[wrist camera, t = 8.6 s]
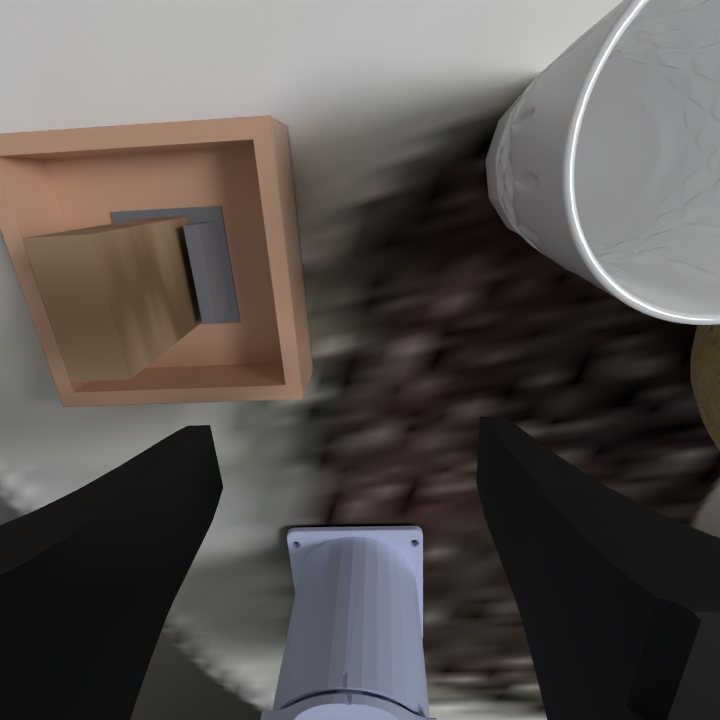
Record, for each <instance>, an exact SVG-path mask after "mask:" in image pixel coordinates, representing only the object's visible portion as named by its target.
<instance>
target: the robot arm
mask: <svg viewBox="0 0 720 720" xmlns="http://www.w3.org/2000/svg"><path fill="white" fill-rule="evenodd" d="M477 487H478V491H479V496H480V500H481V504H482V508H483V512H484V516H485V519H486V522H487V525H488V527H489V530H490V533H491V536H492V538H493V541H494V544H495V546H496V549H497V552H498V554H499V557H500V560H501V562H502V565H503V567H504V570H505V573H506V575H507V578H508V581H509V583H510V586H511V589H512V591H513V594H514V597H515V600H516V603H517V606H518V609H519V612H520V615H521V619H522V622H523V626H524V630H525V633H526V637H527V641H528V645H529V648H530V652H531V656H532V660H533V664H534V667H535V671H536V675H537V679H538V683H539V687H540V691H541V695H542V699H543V703H544V707H545V711H546V715H547V720H720V538H718V537H715V536H712V535H710V534H707V533H705V532H702V531H700V530H697V529H695V528H692V527H690V526H687V525H685V524H683V523H681V522H678V521H676V520H674V519H672V518H669V517H667V516H665V515H663V514H660V513H658V512H656V511H654V510H651V509H649V508H647V507H645V506H643V505H641V504H639V503H637V502H635V501H633V500H631V499H629V498H627V497H625V496H624V495H622V494H620V493H618V492H616V491H614V490H612V489H610V488H609V487H607V486H605V485H603V484H602V483H600V482H598V481H596V480H595V479H593V478H591V477H590V476H588V475H587V474H585V473H583V472H582V471H580V470H579V469H577V468H575V467H574V466H572V465H571V464H569V463H568V462H566V461H565V460H563V459H562V458H560V457H559V456H557V455H556V454H555V453H553V452H552V451H550V450H549V449H548V448H546V447H545V446H543V445H542V444H541V443H539V442H538V441H537V440H535V439H534V438H533V437H531V436H530V435H529V434H527V433H526V432H525V431H523V430H522V429H521V428H519V427H518V426H517V425H515V424H514V423H513V422H511V421H510V420H508V419H507V418H505V417H480V428H479V446H478V464H477ZM222 489H223V484H222V479H221V475H220V470H219V465H218V461H217V456H216V451H215V446H214V442H213V437H212V432H211V428H210V425H200V426H187V427H185V428H183V429H180V430H179V431H177V432H175V433H173V434H171V435H170V436H168V437H166V438H165V439H163V440H161V441H160V442H158V443H157V444H155V445H153V446H152V447H150V448H148V449H147V450H145V451H144V452H142V453H140V454H139V455H137V456H135V457H134V458H132V459H130V460H129V461H127V462H126V463H124V464H122V465H121V466H119V467H117V468H115V469H114V470H112V471H110V472H108V473H107V474H105V475H103V476H101V477H100V478H98V479H96V480H94V481H92V482H91V483H89V484H87V485H85V486H84V487H82V488H80V489H78V490H76V491H74V492H72V493H70V494H68V495H66V496H64V497H62V498H60V499H58V500H56V501H54V502H52V503H50V504H48V505H46V506H44V507H42V508H40V509H37V510H35V511H33V512H31V513H29V514H26V515H24V516H22V517H19V518H17V519H15V520H12V521H9V522H7V523H5V524H2V525H0V720H130V718H131V715H132V712H133V709H134V706H135V703H136V700H137V697H138V694H139V691H140V689H141V686H142V683H143V680H144V677H145V674H146V671H147V668H148V665H149V662H150V660H151V657H152V654H153V651H154V649H155V646H156V643H157V640H158V638H159V635H160V633H161V630H162V627H163V625H164V622H165V619H166V617H167V615H168V612H169V610H170V608H171V605H172V603H173V601H174V599H175V597H176V595H177V593H178V590H179V588H180V586H181V584H182V582H183V580H184V578H185V576H186V574H187V572H188V570H189V568H190V566H191V564H192V562H193V560H194V558H195V556H196V554H197V552H198V550H199V548H200V546H201V544H202V542H203V540H204V537H205V535H206V533H207V531H208V529H209V527H210V525H211V523H212V520H213V517H214V515H215V512H216V509H217V506H218V503H219V499H220V496H221V493H222ZM412 540H417V541H415V542H412ZM294 542H298V543H294ZM287 543H288V550H289V556H290V563H291V570H292V576H293V583H294V589H295V599H294V604H293V609H292V614H291V619H290V624H289V629H288V634H287V639H286V644H285V649H284V654H283V659H282V664H281V669H280V674H279V679H278V684H277V689H276V694H275V699H274V705H273V710H270V711H263V712H262V716H261V720H437V719H435V718H430V714H429V703H428V693H427V683H426V673H425V663H424V653H423V643H422V638H423V533H422V530H421V528H420V527H418V526H366V527H304V528H291V529H290V530H289V531H288V533H287Z"/></svg>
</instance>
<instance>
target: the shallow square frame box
mask: <svg viewBox="0 0 720 720" xmlns="http://www.w3.org/2000/svg"><path fill="white" fill-rule="evenodd" d="M187 216H189V218H190V223H191V224H189V225H185V226H183V228H184V233H185V238H186V243H187V248H188V253H189V258H190V263H191V268H192V273H193V278H194V283H195V288H196V293H197V299H198V304H199V309H200V314H201V319H202V323H200V324H199V325H198V326H197V327H195V328H194V329H193V330H192V331H190V332H189V333H188V334H187V335H185V336H184V337H183V338H182V339H180V340H179V341H178V342H177V343H175V344H174V345H173V346H172V347H170V348H169V349H168V350H167V351H165V352H164V353H163V354H162V355H160V356H159V357H158V358H157V359H155V360H154V361H153V362H152V363H150V364H149V365H148V366H147V367H145V368H144V369H143V370H142V371H140V372H139V373H138V374H137V375H135V376H134V377H133V378H132V379H130V380H104V381H75V382H70V379H69V376H68V373H67V370H66V367H65V364H64V361H63V358H62V355H61V352H60V349H59V346H58V343H57V340H56V338H55V335H54V332H53V329H52V326H51V323H50V320H49V317H48V314H47V311H46V308H45V305H44V302H43V299H42V296H41V293H40V290H39V287H38V284H37V281H36V278H35V275H34V272H33V269H32V266H31V263H30V260H29V257H28V254H27V251H26V248H25V245H24V242H23V239H22V238H26V237H32V236H39V235H45V234H51V233H58V232H64V231H70V230H77V229H83V228H89V227H96V226H102V225H108V224H115V223H121V222H128V221H134V220H140V219H151V218H169V217H187ZM0 228H1V231H2V234H3V237H4V239H5V242H6V245H7V248H8V251H9V254H10V257H11V259H12V262H13V265H14V268H15V271H16V274H17V276H18V279H19V282H20V285H21V288H22V291H23V294H24V296H25V299H26V302H27V305H28V308H29V311H30V313H31V316H32V319H33V322H34V325H35V328H36V331H37V333H38V336H39V339H40V342H41V345H42V348H43V350H44V353H45V356H46V359H47V362H48V365H49V368H50V370H51V373H52V376H53V379H54V382H55V385H56V387H57V390H58V393H59V396H60V399H61V402H62V405H63V407H72V406H103V405H134V404H166V403H197V402H228V401H259V400H290V399H303V398H304V395H305V392H306V389H307V386H308V383H309V380H310V378H311V375H312V372H313V365H312V355H311V346H310V336H309V326H308V317H307V307H306V297H305V288H304V278H303V268H302V259H301V249H300V239H299V230H298V220H297V211H296V201H295V191H294V182H293V172H292V162H291V153H290V143H289V133H288V126H286V125H285V124H283V123H282V122H280V121H278V120H277V119H275V118H274V117H272V116H270V115H269V116H254V117H239V118H225V119H210V120H195V121H181V122H166V123H151V124H137V125H122V126H107V127H92V128H78V129H63V130H48V131H34V132H19V133H4V134H0Z"/></svg>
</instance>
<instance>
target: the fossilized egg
mask: <svg viewBox="0 0 720 720" xmlns="http://www.w3.org/2000/svg"><path fill="white" fill-rule="evenodd" d="M691 384H692V388H693V392H694V396H695V399H696V403H697V406H698V409H699V412H700V415H701V418H702V420H703V423H704V425H705V427H706V429H707V431H708V433H709V434H710V436H711V438H712V439H713V441H714V443H715V444H716V446H717V447H718V449H719V450H720V324H717V325H697V329H696V333H695V337H694V342H693V347H692V352H691Z"/></svg>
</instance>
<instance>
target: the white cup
mask: <svg viewBox="0 0 720 720" xmlns="http://www.w3.org/2000/svg"><path fill="white" fill-rule="evenodd" d="M485 162H486V174H487V186H488V197H489V200H490V201H491V203H492V205H493V206H494V208H495V209H496V211H497V213H498V214H499V216H500V218H501V219H502V221H503V223H504V224H505V226H506V227H507V228H508V229H510V230H511V231H513V232H515V233H517V234H518V235H520V236H521V237H522V238H523V239H524V240H525V241H526V242H527V243H529V244H530V245H531V246H532V247H533V248H535V249H537V250H538V251H539V252H541V253H542V254H544V255H545V256H547V257H548V258H550V259H552V260H553V261H554V262H556V263H557V264H559V265H560V266H562V267H563V268H565V269H567V270H569V271H571V272H573V273H574V274H576V275H578V276H580V277H581V278H583V279H585V280H586V281H588V282H590V283H591V284H593V285H594V286H596V287H598V288H599V289H601V290H603V291H605V292H606V293H608V294H610V295H611V296H613V297H615V298H616V299H618V300H620V301H621V302H623V303H625V304H626V305H628V306H630V307H632V308H633V309H635V310H637V311H640V312H642V313H644V314H647V315H649V316H652V317H655V318H658V319H662V320H666V321H670V322H675V323H682V324H693V325H717V324H720V0H623V1H622V2H621V3H620V4H619V5H617V6H616V7H615V8H614V9H613V10H611V11H610V12H609V13H608V14H607V15H605V16H604V17H603V18H602V19H601V20H600V21H598V22H597V23H596V24H595V25H594V26H592V27H591V28H590V29H589V30H588V31H586V32H585V33H584V34H583V35H582V36H580V37H579V38H578V39H577V40H576V41H575V42H574V43H572V44H571V45H570V46H569V47H568V48H567V49H566V50H565V51H564V52H563V53H562V54H561V55H560V56H559V57H558V58H557V59H555V60H554V61H553V62H552V63H551V64H550V65H549V66H548V67H547V68H546V69H545V70H543V71H542V72H541V73H540V74H539V75H538V76H537V77H536V78H535V79H534V80H533V81H532V83H531V84H530V85H528V86H527V87H526V89H525V90H524V91H523V92H522V93H521V94H520V96H519V97H518V98H517V99H516V100H515V102H514V103H513V104H512V105H511V106H510V107H509V109H508V110H507V111H506V112H505V113H504V114H503V116H502V117H501V118H500V119H499V121H498V124H497V127H496V130H495V133H494V136H493V139H492V142H491V145H490V148H489V151H488V154H487V157H486V160H485Z"/></svg>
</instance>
